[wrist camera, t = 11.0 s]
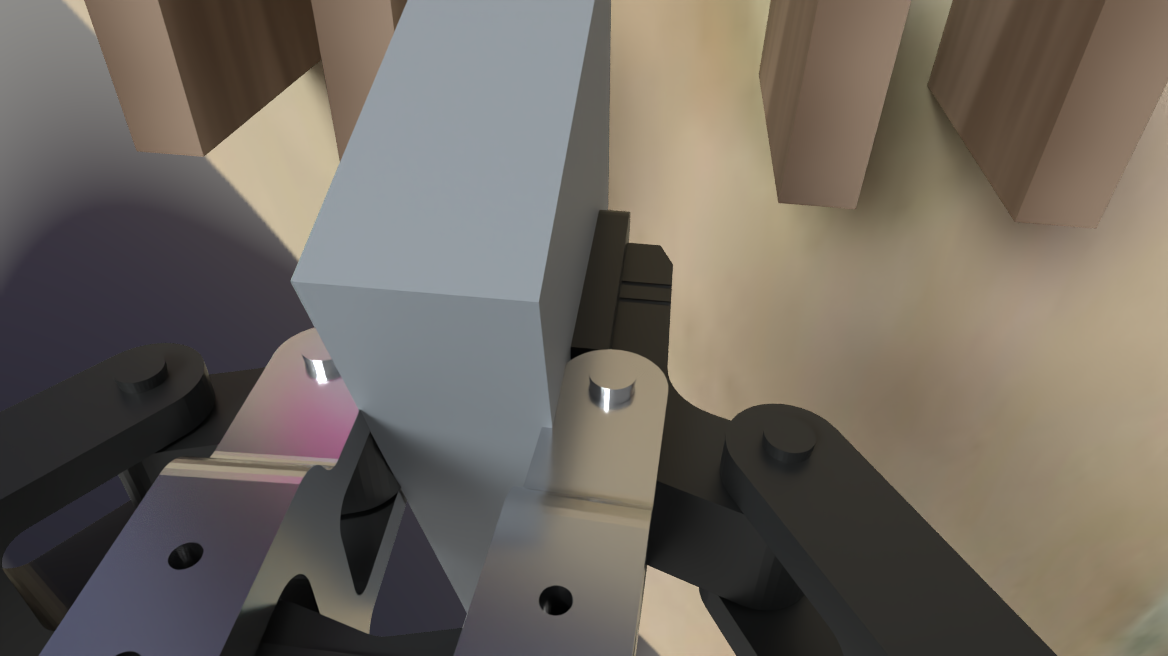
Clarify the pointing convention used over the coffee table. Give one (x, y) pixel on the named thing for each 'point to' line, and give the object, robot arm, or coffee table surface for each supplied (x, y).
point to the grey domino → (465, 249)
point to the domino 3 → (826, 93)
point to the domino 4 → (1052, 97)
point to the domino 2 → (352, 54)
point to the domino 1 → (200, 64)
